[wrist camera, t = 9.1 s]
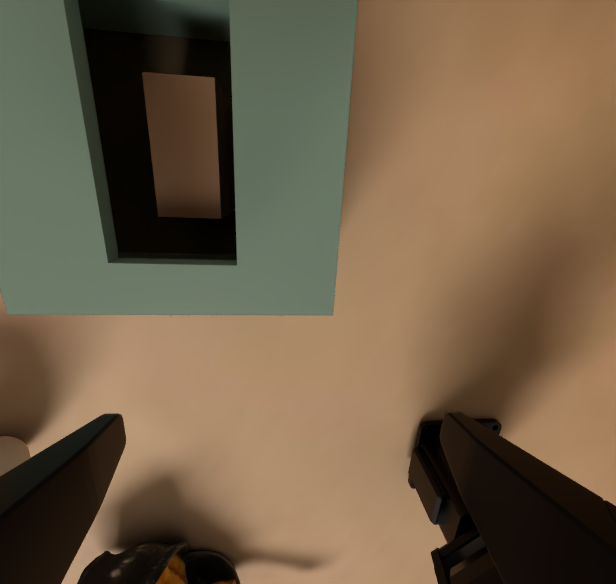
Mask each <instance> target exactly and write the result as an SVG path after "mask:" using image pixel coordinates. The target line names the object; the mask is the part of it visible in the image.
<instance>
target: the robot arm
mask: <svg viewBox="0 0 616 584" xmlns="http://www.w3.org/2000/svg"><path fill="white" fill-rule="evenodd" d="M426 428H427V429H426ZM500 430H501V424H500V423H499V422H498V420H496V419H475V420H473V419H471V418H470V417H468V416H466V415H465V414H463V413H461V412H447V413H446V414H445V415H444V419H443V421H425V422H422V423H421V424H420V425H419V429H418V434H417V439H416V444H415V447H414V449H413V452H412V457H411V462H410V467H409V478H408V482H409V485H410V487H411V488H414V489H416V491H417V493H418V495H419V497H420V499H421V502H422V504H423V506H424V508H425V510H426V513H427V515H428V517H429V519H430V521H431V522H432V523H433V524H434V525H437V524H439V526H440V529H441V531H442V533H443V535H444V537H445V539H446V541H447V544H445V545H444V546H442V547H441V548H436V549H435V550H433V551H432V552H431V556H432V560H433V563H434V570H435V574H436V577H437V581H438V584H616V506H615V505H613V504H611V503H610V502H608V501H606V500H605V501H604V500H603V499H602V498H601V497H600V496H598V495H596V494H595V493H593V492H592V491H590V490H588V489H587V488H585V487H583V486H582V485H580V484H578V483H577V482H575V481H573V480H572V479H570V478H568V477H567V476H565V475H564V474H562V473H560V472H559V471H557V470H555V469H554V468H552V467H550V466H549V465H547V464H545V463H544V462H542V461H540V460H539V459H537V458H536V457H534V456H532V455H531V454H529V453H527V452H526V451H524V450H522V449H521V448H519V447H517V446H516V445H514V444H513V443H511V442H509V441H508V440H506V439H504V438H503V437H501V436H499V433H500ZM125 444H126V435H125V429H124V422H123V417H122V415H121V414H103V415H101V416H99V417H98V418H96V419H94V420H93V421H91V422H89V423H88V424H86V425H84V426H83V427H81V428H79V429H78V430H76V431H74V432H73V433H71V434H69V435H68V436H66V437H65V438H63V439H61V440H60V441H58V442H56V443H55V444H53V445H51V446H50V447H48V448H46V449H45V450H43V451H41V452H40V453H38V454H36V455H35V456H33V457H31V458H30V459H28V460H26V461H25V462H23V463H21V464H20V465H18V466H16V467H15V468H13V469H11V470H10V471H8V472H6V473H5V474H3V475H1V476H0V584H61V583H62V581H63V579H64V577H65V575H66V573H67V571H68V569H69V567H70V565H71V563H72V561H73V560H74V558H75V556H76V554H77V552H78V550H79V548H80V546H81V544H82V542H83V540H84V538H85V536H86V534H87V533H88V531H89V529H90V527H91V525H92V523H93V521H94V519H95V517H96V515H97V513H98V511H99V509H100V507H101V504H102V502H103V500H104V497H105V495H106V492H107V490H108V487H109V485H110V483H111V480H112V478H113V475H114V473H115V470H116V468H117V465H118V463H119V460H120V458H121V455H122V453H123V450H124V448H125Z"/></svg>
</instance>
